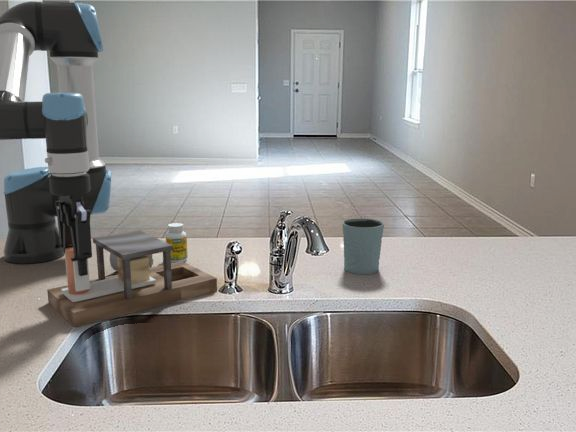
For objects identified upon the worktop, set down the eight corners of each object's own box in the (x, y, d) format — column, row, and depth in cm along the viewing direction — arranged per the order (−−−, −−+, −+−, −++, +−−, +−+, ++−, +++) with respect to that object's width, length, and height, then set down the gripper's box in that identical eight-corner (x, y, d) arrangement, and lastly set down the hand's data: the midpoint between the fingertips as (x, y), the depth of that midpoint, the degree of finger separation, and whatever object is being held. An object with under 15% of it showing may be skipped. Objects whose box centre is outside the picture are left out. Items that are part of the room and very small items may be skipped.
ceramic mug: (139, 278, 141) (137, 246, 140) (109, 274, 144) (107, 243, 142) (161, 265, 151) (160, 236, 150) (133, 262, 154) (132, 233, 152)
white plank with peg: (61, 292, 122) (57, 247, 120) (142, 275, 133) (139, 233, 131) (73, 302, 117) (69, 255, 115) (156, 283, 128) (154, 239, 126)
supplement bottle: (182, 255, 159) (180, 221, 157) (191, 260, 155) (189, 225, 152) (163, 259, 156) (161, 224, 153) (172, 264, 151) (170, 228, 149)
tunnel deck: (48, 302, 126) (43, 246, 123) (182, 272, 145) (180, 223, 142) (74, 327, 113) (69, 265, 111) (217, 290, 133) (215, 237, 130)
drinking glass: (337, 272, 145) (338, 225, 143) (345, 261, 155) (347, 216, 152) (378, 277, 142) (380, 228, 140) (384, 264, 152) (386, 219, 149)
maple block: (118, 278, 129) (116, 256, 128) (139, 273, 132) (138, 252, 131) (127, 284, 125) (126, 261, 124) (149, 279, 128) (148, 257, 127)
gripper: (36, 169, 120) (46, 279, 125) (64, 181, 107) (74, 302, 112) (73, 166, 124) (81, 272, 130) (104, 177, 111) (112, 294, 117)
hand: (78, 286), depth 121 cm, fingers closed on white plank with peg, 4 cm apart
